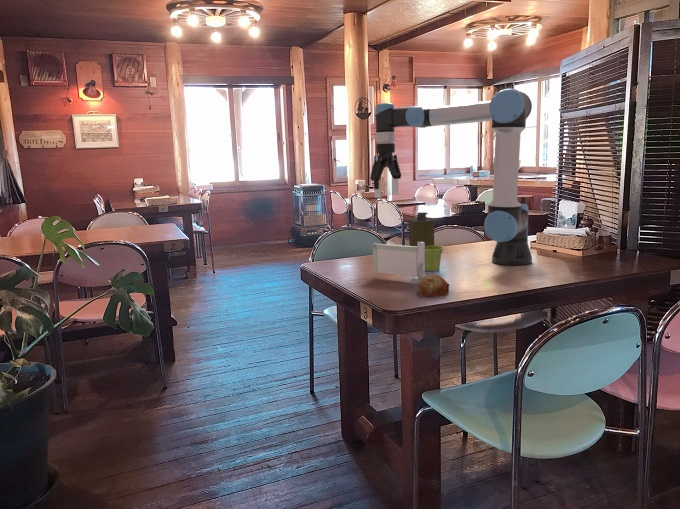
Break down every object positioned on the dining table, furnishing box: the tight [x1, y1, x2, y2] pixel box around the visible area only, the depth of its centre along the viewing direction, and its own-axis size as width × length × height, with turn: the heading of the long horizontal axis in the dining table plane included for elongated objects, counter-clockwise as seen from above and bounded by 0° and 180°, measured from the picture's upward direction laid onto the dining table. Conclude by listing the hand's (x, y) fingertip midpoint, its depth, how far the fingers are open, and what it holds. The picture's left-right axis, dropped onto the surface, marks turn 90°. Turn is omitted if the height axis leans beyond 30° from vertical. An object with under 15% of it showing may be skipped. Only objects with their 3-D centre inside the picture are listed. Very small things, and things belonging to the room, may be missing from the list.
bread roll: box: [415, 274, 450, 298], centre depth 176 cm, size 10×10×8 cm
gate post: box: [409, 242, 426, 285], centre depth 191 cm, size 6×6×14 cm
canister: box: [408, 211, 436, 247], centre depth 227 cm, size 11×10×20 cm
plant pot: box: [425, 245, 444, 272], centre depth 211 cm, size 9×9×9 cm
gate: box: [372, 242, 418, 278], centre depth 196 cm, size 17×2×11 cm, turn 55°
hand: (386, 196), depth 228 cm, fingers open, 13 cm apart
